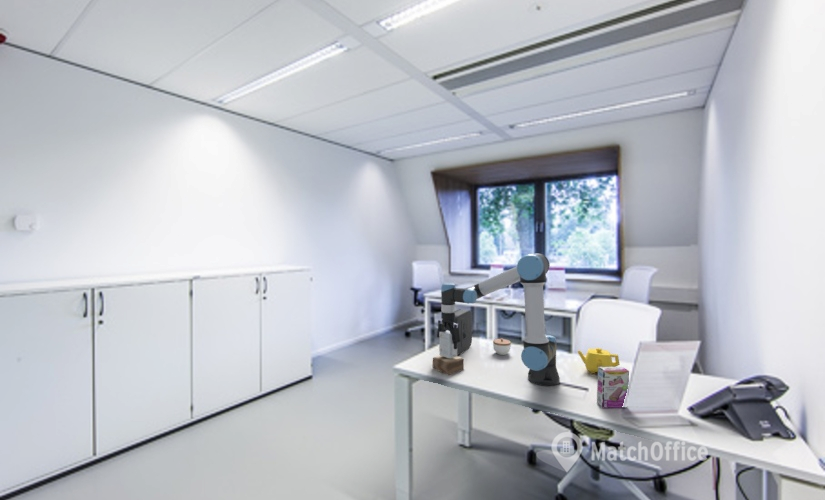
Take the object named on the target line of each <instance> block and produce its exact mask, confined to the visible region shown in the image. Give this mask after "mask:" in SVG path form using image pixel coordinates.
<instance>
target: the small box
mask: <svg viewBox="0 0 825 500" xmlns="http://www.w3.org/2000/svg"><path fill="white" fill-rule="evenodd" d="M438 338H439V339H438V340H439V341H438V342H439V347H438V348H439V351H438V353H439V355H438V356H440V355H441V356H444V357H446V358H449V359H450V358H453V357H456V356H458V354H457V349H456V355H452V343H453V340H452V334H450V331H448V330H446V331H444V332H439V337H438Z"/></svg>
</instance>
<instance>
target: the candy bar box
mask: <svg viewBox="0 0 825 500" xmlns="http://www.w3.org/2000/svg"><path fill="white" fill-rule="evenodd" d="M596 381H597V382H596V383H597V385H596V386H597V387H596V388H597V389H596V404H597V405H598V406H599V407H600V408H602V409H623V408H622V406H623V403H624V399H625V396H626V393H627V389H628V390H629V386H630V384H629V383H630V382H629V381H630V370H629V369H627V368H625V367H623V366H616V367H598V372H597V380H596ZM628 385H629V386H628Z"/></svg>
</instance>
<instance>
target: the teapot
mask: <svg viewBox="0 0 825 500" xmlns="http://www.w3.org/2000/svg"><path fill="white" fill-rule="evenodd" d="M577 353H578V355H579V357H580V358H581V360H582V363H583V364H584V366H585V368H586V370H587V371H589V374H591V373H595V374H596V373H598V367H619V366H620V359H619V355H618V354H615V353H611V352H610V351H609V350H604V349H603V348H600V347H596V348H588V349H587V352H586V355H584V353H583V352H582V351H581V350H577ZM612 358H615V360H614V361H613V359H612Z"/></svg>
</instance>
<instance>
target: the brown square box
mask: <svg viewBox="0 0 825 500" xmlns="http://www.w3.org/2000/svg"><path fill="white" fill-rule="evenodd" d="M464 365H465V359H464V358H463V357H461V356H459V355H457V356H456V357H453V358H450V359H449V358H446V357H444V356H441V355H438V356H434V357H432V369H433V370H435V371H438V372H440V373H443V374H445V375H449V376H450V375H452V374H455V373H458V372H461V371H463V370H464V369H465V367H464Z"/></svg>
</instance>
